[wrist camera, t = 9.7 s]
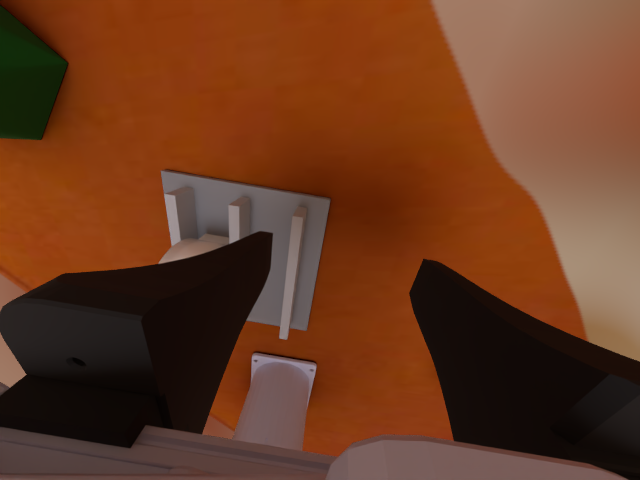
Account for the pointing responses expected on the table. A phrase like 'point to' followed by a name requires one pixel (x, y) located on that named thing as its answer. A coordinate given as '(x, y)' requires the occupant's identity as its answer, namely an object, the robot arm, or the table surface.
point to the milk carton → (26, 80)
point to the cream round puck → (194, 247)
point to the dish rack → (250, 217)
